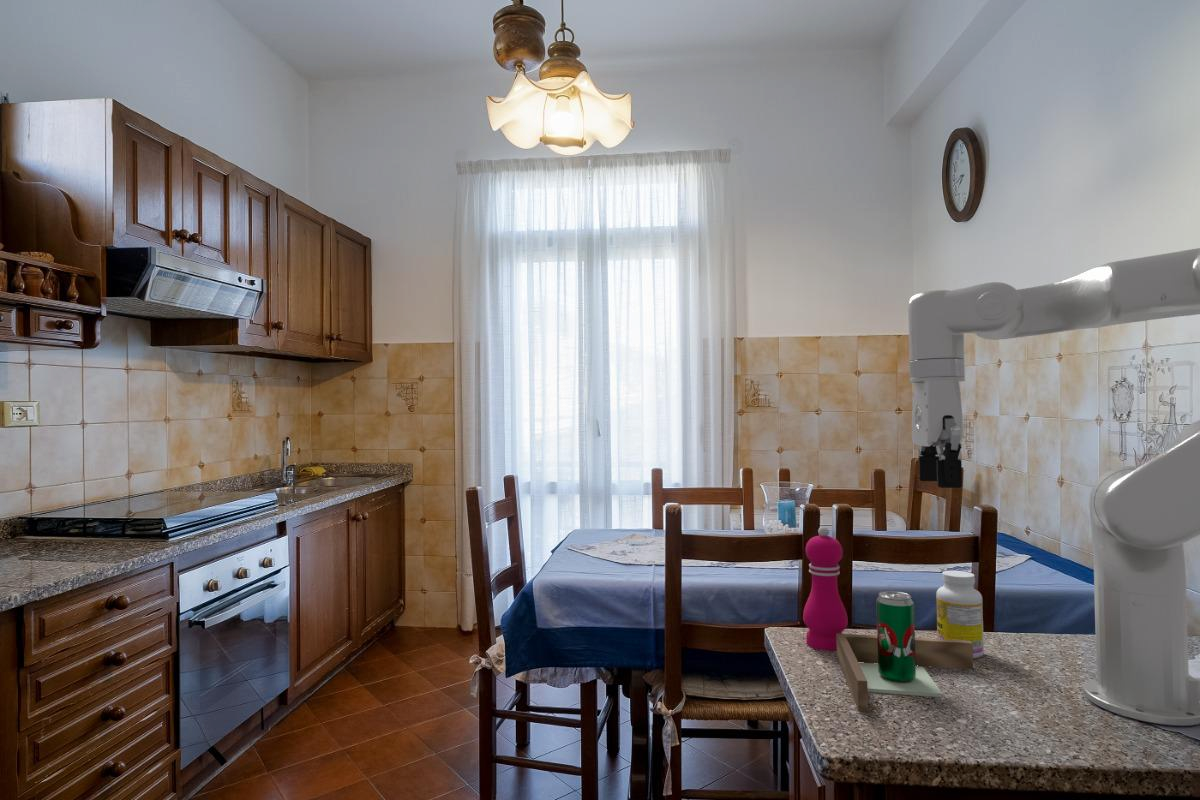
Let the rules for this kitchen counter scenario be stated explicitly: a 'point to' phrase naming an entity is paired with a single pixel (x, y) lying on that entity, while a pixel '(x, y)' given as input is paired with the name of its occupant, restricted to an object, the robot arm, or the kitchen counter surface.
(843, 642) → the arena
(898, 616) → the soda can
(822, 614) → the pepper mill
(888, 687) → the pad
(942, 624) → the supplement bottle
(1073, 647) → the kitchen counter surface
